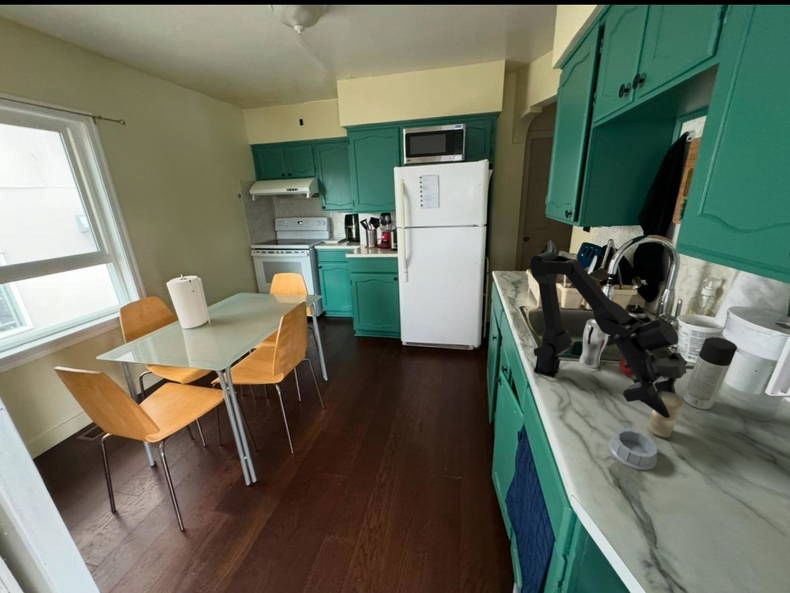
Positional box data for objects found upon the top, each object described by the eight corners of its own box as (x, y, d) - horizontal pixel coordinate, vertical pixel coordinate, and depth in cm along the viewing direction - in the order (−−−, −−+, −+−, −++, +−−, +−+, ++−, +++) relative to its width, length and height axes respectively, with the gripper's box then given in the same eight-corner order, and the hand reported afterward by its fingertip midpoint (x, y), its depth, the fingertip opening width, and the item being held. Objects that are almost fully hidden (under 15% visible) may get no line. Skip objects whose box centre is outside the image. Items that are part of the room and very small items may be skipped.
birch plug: (647, 432, 92) (659, 401, 87) (646, 420, 96) (657, 389, 91) (671, 440, 89) (684, 407, 85) (669, 427, 93) (682, 395, 89)
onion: (641, 382, 111) (647, 360, 107) (620, 380, 112) (626, 358, 108) (633, 370, 116) (639, 349, 113) (614, 369, 117) (619, 348, 114)
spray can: (718, 409, 99) (745, 348, 91) (695, 411, 99) (720, 350, 90) (697, 393, 105) (721, 335, 97) (676, 395, 105) (698, 336, 96)
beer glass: (602, 370, 116) (612, 330, 110) (578, 366, 119) (587, 327, 112) (599, 358, 122) (608, 320, 116) (576, 355, 125) (584, 317, 118)
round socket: (607, 459, 85) (610, 448, 84) (609, 431, 93) (612, 421, 92) (657, 477, 81) (662, 465, 79) (655, 446, 88) (659, 435, 87)
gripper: (649, 360, 81) (692, 426, 77) (684, 334, 90) (723, 392, 87) (606, 371, 90) (643, 431, 86) (642, 346, 100) (675, 399, 96)
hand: (672, 412), depth 89 cm, fingers closed on birch plug, 5 cm apart
